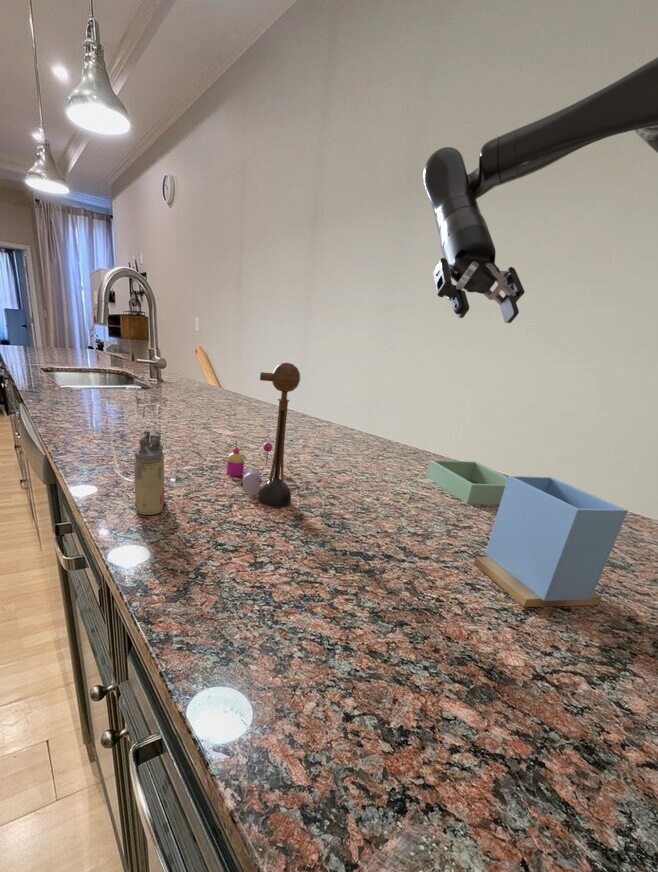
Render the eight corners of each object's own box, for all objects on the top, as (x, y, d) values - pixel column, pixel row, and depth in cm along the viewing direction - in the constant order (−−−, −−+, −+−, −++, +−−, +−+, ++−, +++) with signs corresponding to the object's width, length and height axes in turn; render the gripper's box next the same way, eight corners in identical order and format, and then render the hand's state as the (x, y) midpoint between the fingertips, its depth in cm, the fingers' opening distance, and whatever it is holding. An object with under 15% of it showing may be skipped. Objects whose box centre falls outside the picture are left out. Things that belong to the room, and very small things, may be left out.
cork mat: (538, 563, 55) (541, 556, 55) (598, 605, 47) (602, 597, 47) (473, 563, 54) (475, 556, 53) (523, 607, 45) (526, 599, 45)
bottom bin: (469, 487, 82) (476, 461, 80) (516, 516, 70) (526, 486, 68) (423, 486, 81) (429, 459, 79) (463, 515, 69) (472, 484, 67)
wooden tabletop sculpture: (252, 506, 65) (262, 361, 57) (251, 494, 69) (260, 359, 61) (292, 507, 65) (307, 365, 58) (288, 496, 70) (302, 362, 62)
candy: (275, 497, 69) (278, 459, 67) (223, 494, 68) (224, 455, 66) (270, 464, 85) (273, 432, 83) (228, 461, 85) (230, 429, 83)
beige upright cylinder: (160, 516, 59) (159, 441, 55) (131, 515, 58) (127, 440, 54) (165, 497, 65) (165, 429, 61) (138, 496, 65) (136, 427, 61)
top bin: (525, 553, 55) (551, 477, 51) (591, 599, 46) (628, 510, 42) (484, 554, 54) (508, 475, 50) (543, 601, 45) (578, 509, 41)
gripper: (439, 217, 72) (461, 292, 66) (517, 229, 74) (544, 301, 68) (417, 259, 79) (435, 330, 73) (489, 268, 81) (512, 337, 75)
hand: (488, 316), depth 71 cm, fingers open, 8 cm apart
